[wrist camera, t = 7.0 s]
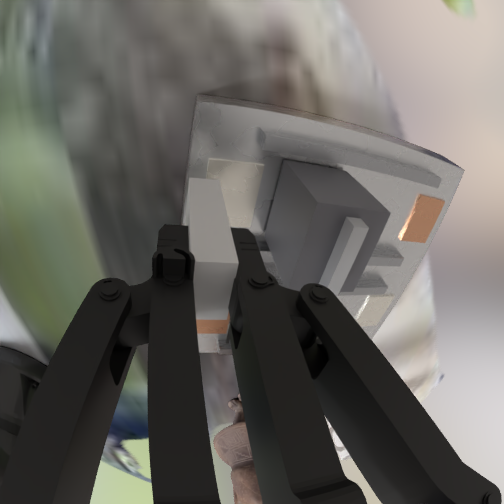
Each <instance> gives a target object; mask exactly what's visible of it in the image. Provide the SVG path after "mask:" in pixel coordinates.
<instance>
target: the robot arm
mask: <svg viewBox="0 0 504 504" xmlns="http://www.w3.org/2000/svg"><path fill="white" fill-rule="evenodd" d="M152 270H153V276H152V277H151V278H150V279H149V280H148V281H146V282H144V283H142V284H139V285H135V286H130V287H129V285H128V284H127V283H126V282H125V281H123V280H120V279H118V278H107V279H102V280H100V281H98V282H96V283H95V284H94V285H93V286H92V288H91V289H90V291H89V292H88V294H87V296H86V297H85V299H84V301H83V302H82V304H81V306H80V308H79V309H78V311H77V313H76V314H75V316H74V318H73V320H72V321H71V323H70V325H69V327H68V329H67V330H66V332H65V334H64V336H63V338H62V340H61V342H60V343H59V345H58V347H57V349H56V351H55V353H54V355H53V357H52V359H51V361H50V363H49V365H48V367H46V366H45V365H43V364H42V363H40V362H38V361H36V360H35V359H33V358H31V357H29V356H27V355H24V354H22V353H20V352H17V351H15V350H12V349H9V348H5V347H1V346H0V504H90V499H91V495H92V491H93V487H94V483H95V479H96V475H97V471H98V467H99V464H100V460H101V456H102V453H103V449H104V446H105V442H106V439H107V435H108V432H109V429H110V425H111V422H112V419H113V415H114V412H115V409H116V406H117V403H118V400H119V397H120V394H121V391H122V388H123V385H124V382H125V379H126V376H127V373H128V370H129V367H130V364H131V361H132V359H133V356H134V353H135V350H136V346H138V345H142V344H146V343H149V344H148V433H149V453H150V468H151V481H152V491H153V501H154V504H221V502H220V499H219V494H218V488H217V483H216V477H215V471H214V465H213V459H212V453H211V445H210V438H209V431H208V424H207V417H206V409H205V401H204V393H203V385H202V376H201V366H200V356H199V346H198V335H197V324H196V319H198V320H227V317H228V312H229V315H230V324H229V329H228V333H227V338H226V344H229V340H230V342H231V348H232V353H233V359H234V365H235V370H236V376H237V381H238V387H239V392H240V397H241V402H242V408H243V413H244V418H245V423H246V428H247V433H248V438H249V443H250V447H251V452H252V457H253V462H254V466H255V471H256V475H257V480H258V484H259V489H260V493H261V498H262V504H367V502H366V498H365V496H364V494H363V492H362V490H361V488H360V487H359V486H358V485H357V484H356V483H355V482H353V481H351V480H349V479H347V477H346V476H345V474H344V472H343V470H342V467H341V464H340V461H339V457H338V454H337V451H336V448H335V445H334V442H333V439H332V436H331V434H330V431H329V428H328V425H327V422H326V419H325V417H326V418H327V420H328V422H329V423H330V425H331V426H332V428H333V429H334V431H335V433H336V434H337V436H338V437H339V439H340V440H341V442H342V444H343V445H344V447H345V448H346V450H347V451H348V453H349V454H350V456H351V458H352V459H353V461H354V462H355V463H356V465H357V467H358V468H359V470H360V471H361V473H362V474H363V476H364V478H365V479H366V481H367V482H368V484H369V485H370V487H371V488H372V490H373V491H374V493H375V494H376V496H377V497H378V499H379V500H380V501H381V503H383V504H501V493H500V490H499V488H498V487H497V486H496V485H495V484H493V483H492V482H490V481H489V480H487V479H486V478H484V477H483V476H481V475H480V474H479V473H477V472H476V471H474V470H473V469H471V468H470V467H468V466H467V465H466V464H464V463H463V462H462V461H461V459H460V458H459V456H458V455H457V454H456V452H455V451H454V449H453V448H452V447H451V445H450V444H449V442H448V441H447V439H446V438H445V437H444V435H443V434H442V432H441V431H440V430H439V428H438V427H437V426H436V424H435V423H434V421H433V420H432V419H431V417H430V416H429V415H428V413H427V412H426V411H425V409H424V408H423V407H422V405H421V404H420V402H419V401H418V400H417V398H416V397H415V396H414V394H413V393H412V392H411V391H410V389H409V388H408V387H407V385H406V384H405V383H404V381H403V380H402V379H401V377H400V376H399V375H398V373H397V372H396V371H395V370H394V368H393V367H392V366H391V364H390V363H389V362H388V360H387V359H386V358H385V357H384V355H383V354H382V353H381V352H380V350H379V349H378V348H377V346H376V345H375V344H374V343H373V341H372V340H371V339H370V338H369V336H368V335H367V334H366V333H365V331H364V330H363V329H362V328H361V326H360V325H359V324H358V323H357V321H356V320H355V319H354V318H353V316H352V315H351V314H350V313H349V311H348V310H347V309H346V308H345V306H344V305H343V304H342V303H341V302H340V300H339V299H338V298H337V297H336V295H335V294H334V293H333V292H332V291H331V290H330V289H329V288H327V287H325V286H323V285H321V284H317V283H308V284H306V285H304V286H303V287H302V288H301V290H300V291H296V290H292V289H288V288H285V287H282V286H280V285H279V284H278V282H277V280H276V278H275V277H274V276H273V275H271V274H270V273H268V272H267V271H266V268H265V265H264V262H263V259H262V256H261V253H260V251H259V247H258V245H257V241H256V238H255V236H254V235H253V233H252V232H251V231H250V230H249V229H247V228H232V227H230V224H229V220H228V215H227V211H226V207H225V202H224V198H223V194H222V189H221V185H220V180H215V179H203V178H189V186H188V195H187V205H186V215H185V226H184V225H166V224H165V225H164V226H163V227H162V228H161V229H160V230H159V235H158V244H157V251H156V252H155V253H154V255H153V258H152ZM319 339H320V340H319ZM324 415H325V416H324Z"/></svg>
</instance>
